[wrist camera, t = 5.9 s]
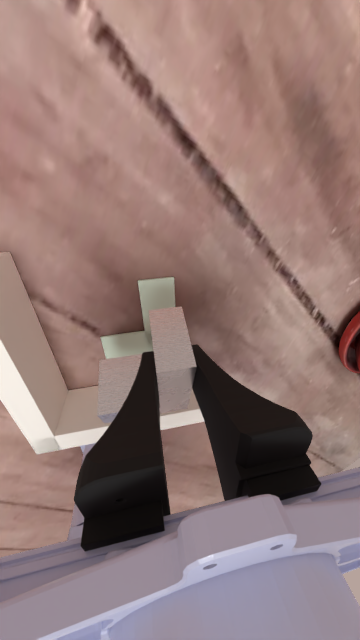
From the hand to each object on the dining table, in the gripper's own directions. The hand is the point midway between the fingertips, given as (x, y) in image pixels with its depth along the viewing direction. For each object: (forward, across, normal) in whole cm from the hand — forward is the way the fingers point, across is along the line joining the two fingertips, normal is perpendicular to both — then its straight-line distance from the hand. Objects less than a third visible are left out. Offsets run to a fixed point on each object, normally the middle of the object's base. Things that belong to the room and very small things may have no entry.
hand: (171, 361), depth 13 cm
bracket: (+3, +2, 0) cm, 4 cm away
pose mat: (+8, +2, +1) cm, 8 cm away
